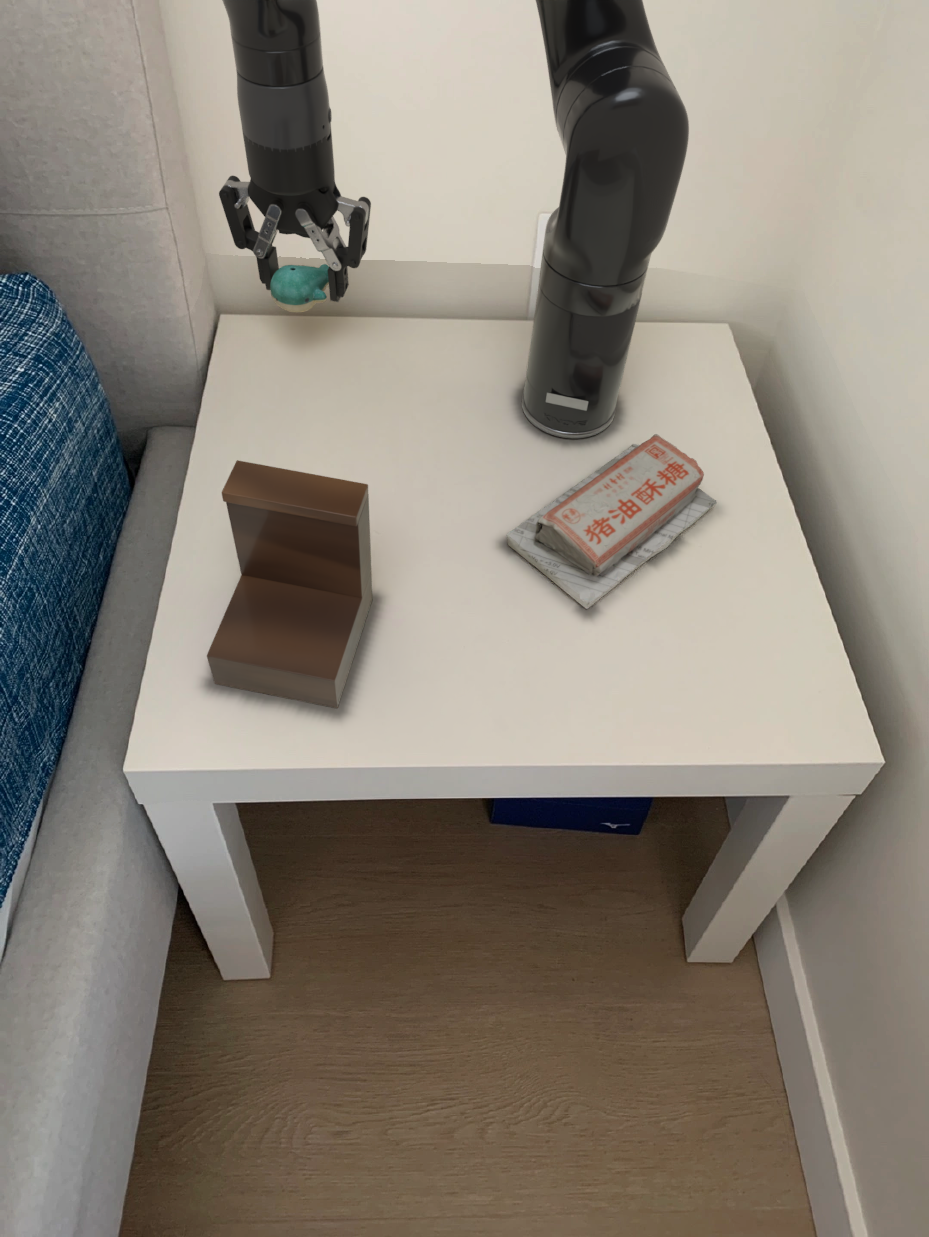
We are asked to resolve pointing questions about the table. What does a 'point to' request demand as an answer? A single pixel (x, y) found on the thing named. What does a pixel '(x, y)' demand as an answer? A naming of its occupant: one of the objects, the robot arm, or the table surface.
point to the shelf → (294, 583)
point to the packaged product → (614, 519)
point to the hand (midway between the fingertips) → (305, 290)
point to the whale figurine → (299, 287)
